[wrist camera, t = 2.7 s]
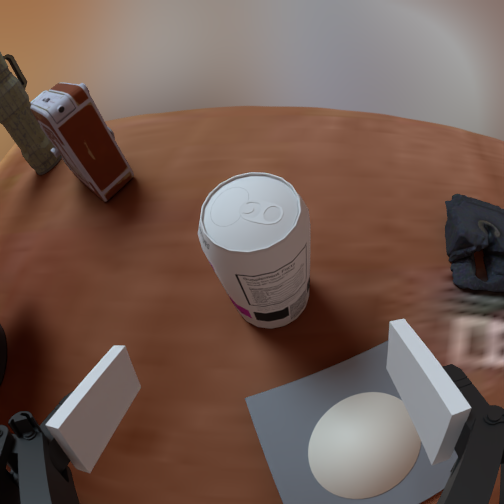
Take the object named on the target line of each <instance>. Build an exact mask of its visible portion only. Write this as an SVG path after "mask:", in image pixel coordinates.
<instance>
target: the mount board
mask: <svg viewBox="0 0 504 504" xmlns="http://www.w3.org/2000/svg"><path fill="white" fill-rule="evenodd" d="M388 341H389V340H388ZM388 341H386V342H384V343H382V344H380V345H378V346H376V347H374V348H372V349H370V350H367V351H365V352H363V353H361V354H359V355H357V356H354V357H352V358H350V359H348V360H345V361H343V362H341V363H339V364H336V365H334V366H331V367H329V368H327V369H324V370H322V371H319V372H317V373H314V374H312V375H309V376H307V377H304V378H302V379H299V380H296V381H294V382H291V383H288V384H285V385H283V386H280V387H277V388H274V389H271V390H268V391H265V392H262V393H259V394H256V395H253V396H250V397H247V398H245V400H246V403H247V406H248V409H249V412H250V415H251V418H252V420H253V423H254V426H255V429H256V432H257V435H258V438H259V440H260V443H261V446H262V449H263V451H264V454H265V457H266V460H267V462H268V465H269V468H270V470H271V473H272V476H273V478H274V481H275V484H276V486H277V489H278V491H279V494H280V496H281V499H282V501H283V504H419V503H421V502H423V501H425V500H426V499H428V498H430V497H431V496H433V495H435V494H436V493H438V492H440V491H441V490H443V489H444V488H445V486H446V483H447V481H448V479H449V476H450V474H451V472H450V471H451V469H452V467H453V465H454V464H455V462H456V460H457V458H458V455H457V453H456V451H455V450H454V451H453V453H452V455H451V457H450V459H448V460H446V461H443V462H440V463H437V464H435V465H431V462H430V460H429V458H428V455H427V453H426V451H425V448H424V446H423V444H422V442H421V439H420V437H419V435H418V433H417V431H416V428H415V426H414V424H413V422H412V420H411V418H410V416H409V413H408V411H407V409H406V407H405V405H404V403H403V401H402V399H401V397H400V395H399V393H398V391H397V389H396V387H395V385H394V383H393V381H392V379H391V377H390V375H389V373H388V371H387V369H386V366H387V354H388Z"/></svg>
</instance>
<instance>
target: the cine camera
mask: <svg viewBox="0 0 504 504" xmlns="http://www.w3.org/2000/svg"><path fill="white" fill-rule="evenodd" d="M30 103H31V107H30V108H31V111H32V113H33V115H34V116H35V118H36V119H37V121H38V123H39V124H40V127H41V129H42V130H43V132H44V133H45V135H46V136H47V138H48V139H49V140H51V142H52V143H53V145H54V146H55V148H52V149H51V152H52V153H53V154H54V155H55V157H56V158H57V157H58V156H59V155H61V156H62V159H63V160H64V162H65V163H66V165H67V166H68V167H69V169H70V170H72V171H73V173H74V174H75V175H76V177H77V178H78V179H79V180H80V181H81V182H82V183H84V184H85V185H86V186H87V187H88V188H89V189H90V190H91V191H93V192H94V193H95V194H96V195H97V196H98V197H99V198H101V199H102V200H103V201H105V202H106V201H108V200H109V199H110V198H111V197H112V196H113V195H114V194H115V193H116V192H118V191H119V190H120V189H121V188H122V187H123V186H124V185H125V184H126V183H127V182H128V181H129V180H130V179H131V178H132V177H133V176H134V175H133V171H132V169H131V168H130V166H129V164H128V162H127V160H126V159H125V157H124V155H123V154H122V152H121V150H120V148H119V147H118V145H117V143H116V141H115V137H114V133H113V131H112V130H111V129H110V128H109V127H107V125H106V123H105V122H104V120H103V118H102V116H101V114H100V112H99V111H98V109H97V107H96V105H95V103H94V101H93V99H92V98H91V96H90V94H89V90H88V88H87V87H86V86H85V85H84V84H83V83H81V84H80V85H77V84H70V83H58V84H56V85H55V86H54V87H53V88H51V89H50V90H49V91H44V92H42V93H41V94H40V95H39V96H37V97H36V98H35V99H34V100H33V101H31V102H30Z"/></svg>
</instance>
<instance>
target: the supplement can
mask: <svg viewBox="0 0 504 504" xmlns="http://www.w3.org/2000/svg"><path fill="white" fill-rule="evenodd" d="M198 236H199V240H200V243H201V246H202V249H203V251H204V253H205V255H206V257H207V258H208V260H209V262H210V264H211V266H212V267H213V269H214V271H215V273H216V274H217V276H218V278H219V280H220V281H221V283H222V285H223V287H224V288H225V290H226V292H227V294H228V295H229V297H230V299H231V301H232V302H233V304H234V306H235V307H236V309H237V311H238V312H239V313H240V314H241V316H242V317H243V318H244V319H245V320H246V321H247V322H249V323H251V324H253V325H255V326H257V327H262V328H270V329H272V328H277V327H282V326H285V325H287V324H289V323H290V322H292V321H294V320H295V319H297V318H298V317H299V315H300V314H301V313H302V312H303V310H304V309H305V307H306V304H307V301H308V298H309V285H310V218H309V209H308V208H307V206H306V204H305V203H304V201H303V199H302V198H301V196H300V195H299V194H298V193H297V192H296V191H295V189H294V188H293V186H292V185H291V184H289V183H288V182H287V181H285V180H284V179H282V178H281V177H278V176H275V175H272V174H268V173H254V172H250V173H246V174H241V175H237V176H234V177H232V178H230V179H228V180H226V181H224V182H222V183H220V184H219V185H218V186H217V187H216V188H215V189H214V190H213V191H211V192H210V193H209V195H208V196H207V198H206V200H205V202H204V203H203V205H202V209H201V216H200V222H199V229H198Z"/></svg>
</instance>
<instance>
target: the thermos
mask: <svg viewBox="0 0 504 504" xmlns="http://www.w3.org/2000/svg"><path fill="white" fill-rule="evenodd" d="M5 59H6V60H8V61H9V63H10V65H11V67H12V69H13V70H14V72H15V74H16V76H17V78H18V79H17V78H16V77H15V76H13V74H12V73H11V72H10V71H9V69H8V66H7V64H6V62H5ZM26 84H27V80H26V79H25V77H24V75H23V74H22V72H21V70H20V68H19V66H18V64H17V63H16V61H15V59H14V57H13V56H12V55H9V54H7V55H5V56H2V54H1V52H0V123H1V124H3V125H4V127H5V128H6V130H7V131H8V133H9V134H10V135H11V137H12V138H13V140H14V141H15V142H16V144H17V145H18V146H19V148H20V149H21V152H22V155H23V157H24V158H25V160H26V161H27V162H28V163H29V165H30V166H31V167H32V168H33V169H34V170H35V171H36V173H37V174H38V175H42V174H45V173H46V172H48V171H50V170H51V169H52V168H53V167H54V166H55V165H56V164H57V163H58V162H59V161H60V159H61V158H62V156H61V155H59V156H58V157H57V158H56V157H55V155H54V154H53V153H52V152H51V149H52V148H55V146H54V145H53V143H52V142H51V140H49V139H48V138H47V136H46V135H45V133H44V132H43V130H42V129H41V127H40V124H39V123H38V121H37V119H36V118H35V116H34V115H33V113H32V111H31V108H30V107H31V103H30V102H29V97H28V94H27V93H26V91H25V87H26Z"/></svg>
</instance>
